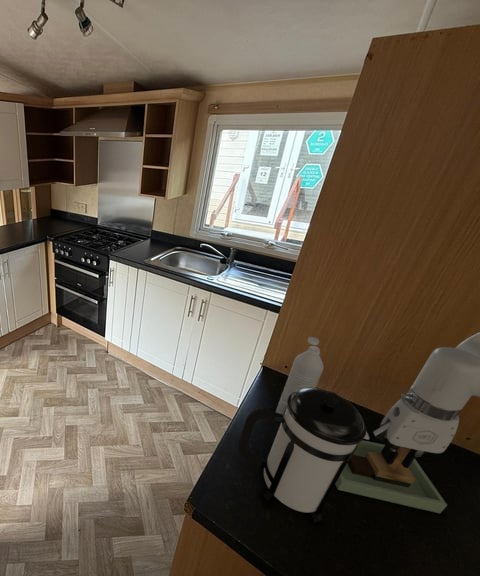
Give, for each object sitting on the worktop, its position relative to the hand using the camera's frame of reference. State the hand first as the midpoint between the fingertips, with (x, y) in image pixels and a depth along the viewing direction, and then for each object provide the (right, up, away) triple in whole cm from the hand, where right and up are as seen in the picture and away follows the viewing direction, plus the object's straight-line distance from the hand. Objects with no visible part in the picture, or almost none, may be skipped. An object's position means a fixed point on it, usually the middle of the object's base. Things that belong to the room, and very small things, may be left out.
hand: (394, 460), depth 73 cm
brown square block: (-5, -4, +4) cm, 8 cm away
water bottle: (-13, +3, +19) cm, 23 cm away
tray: (-2, -5, +3) cm, 6 cm away
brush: (0, -5, +2) cm, 5 cm away
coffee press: (-26, -7, -1) cm, 27 cm away
